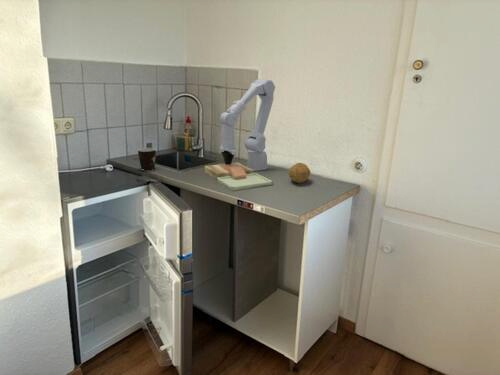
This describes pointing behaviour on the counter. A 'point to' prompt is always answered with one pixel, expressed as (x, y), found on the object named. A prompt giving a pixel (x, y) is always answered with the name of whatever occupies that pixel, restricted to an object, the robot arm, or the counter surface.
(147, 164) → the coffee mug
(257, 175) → the tray
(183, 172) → the counter surface
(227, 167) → the tile rear
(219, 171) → the flat food package
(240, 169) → the tile front
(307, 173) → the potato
